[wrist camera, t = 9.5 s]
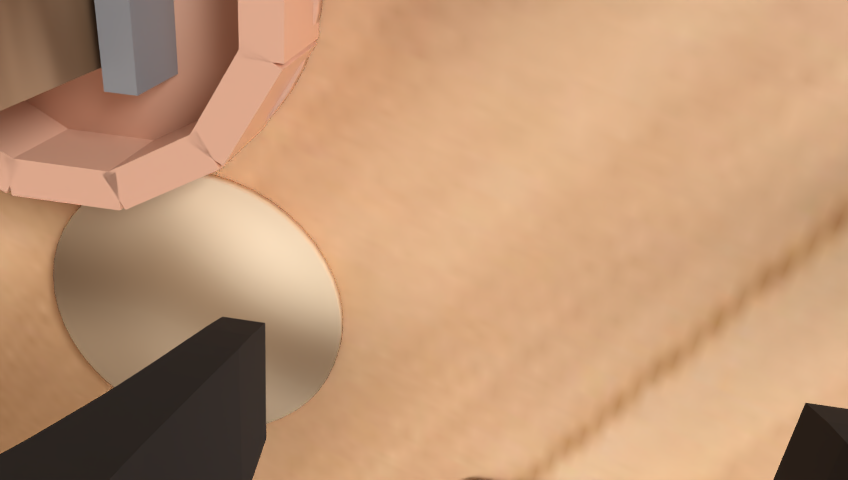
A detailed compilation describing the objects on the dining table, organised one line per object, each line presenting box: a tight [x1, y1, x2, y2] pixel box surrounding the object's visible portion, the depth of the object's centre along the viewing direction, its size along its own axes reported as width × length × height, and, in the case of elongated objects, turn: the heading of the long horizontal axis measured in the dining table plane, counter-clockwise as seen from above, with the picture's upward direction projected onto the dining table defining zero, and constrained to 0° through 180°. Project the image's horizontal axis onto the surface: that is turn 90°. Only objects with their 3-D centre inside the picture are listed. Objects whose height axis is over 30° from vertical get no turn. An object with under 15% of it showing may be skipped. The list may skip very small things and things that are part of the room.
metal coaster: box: [53, 174, 343, 424], centre depth 22 cm, size 9×9×1 cm
